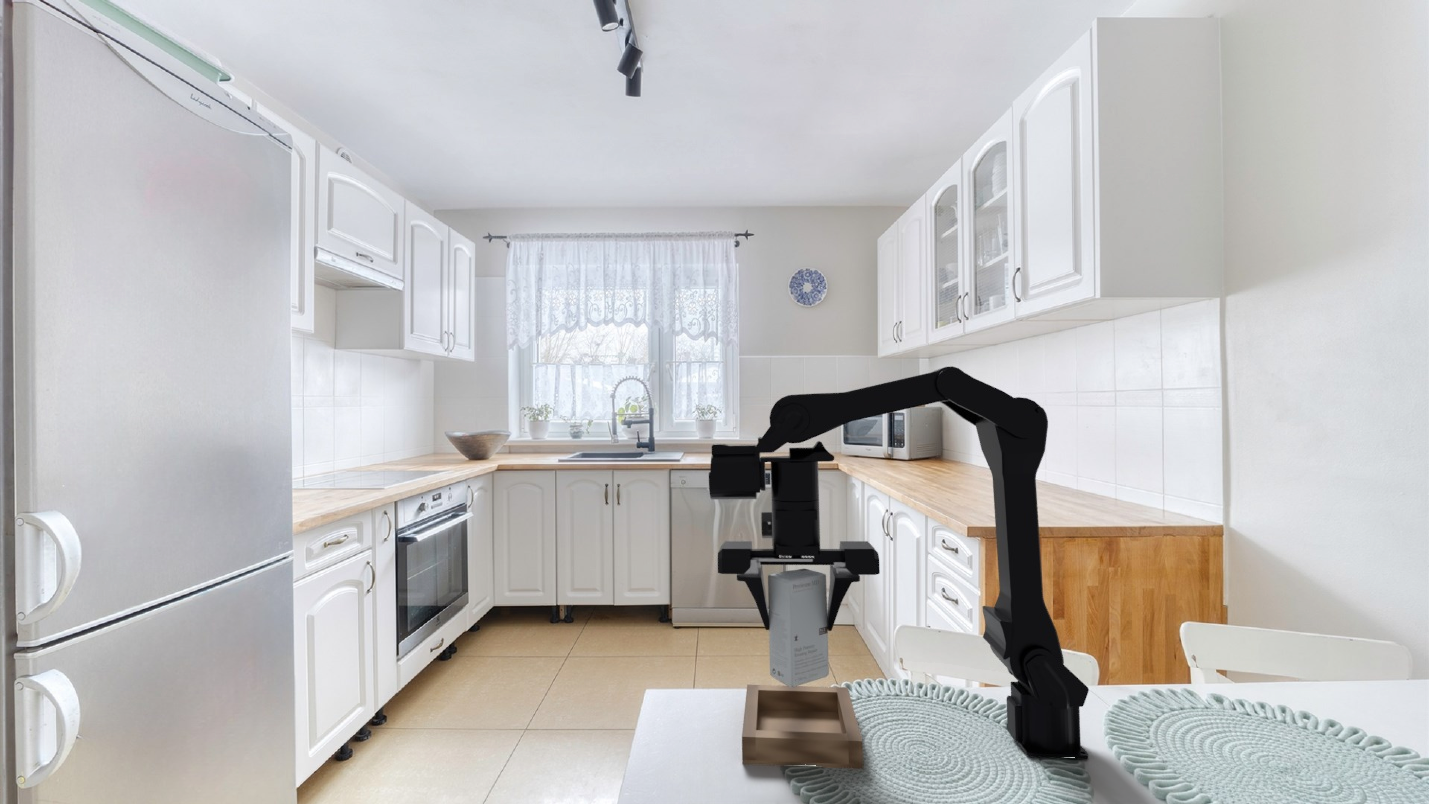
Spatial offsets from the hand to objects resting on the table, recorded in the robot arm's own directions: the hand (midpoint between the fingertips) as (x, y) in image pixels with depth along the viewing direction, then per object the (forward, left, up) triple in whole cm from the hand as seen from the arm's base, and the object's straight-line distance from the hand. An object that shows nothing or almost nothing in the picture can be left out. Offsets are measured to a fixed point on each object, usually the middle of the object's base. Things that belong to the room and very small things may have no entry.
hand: (798, 629), depth 72 cm
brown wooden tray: (0, 0, -13) cm, 13 cm away
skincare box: (0, 0, -6) cm, 6 cm away
